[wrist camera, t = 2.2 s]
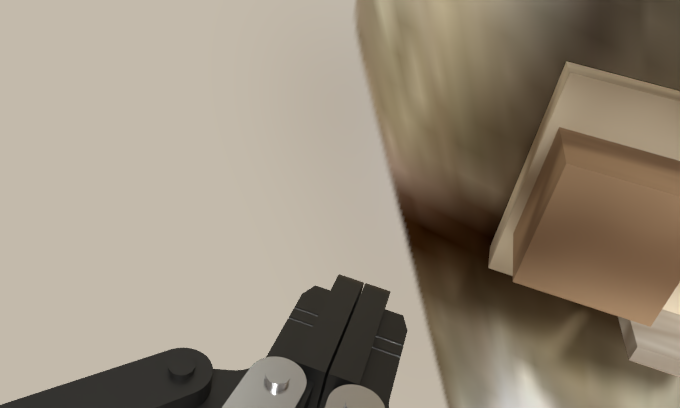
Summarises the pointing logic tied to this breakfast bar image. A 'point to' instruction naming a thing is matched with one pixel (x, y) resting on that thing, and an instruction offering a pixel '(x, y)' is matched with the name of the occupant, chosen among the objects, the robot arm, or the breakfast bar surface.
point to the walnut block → (602, 227)
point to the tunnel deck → (619, 127)
